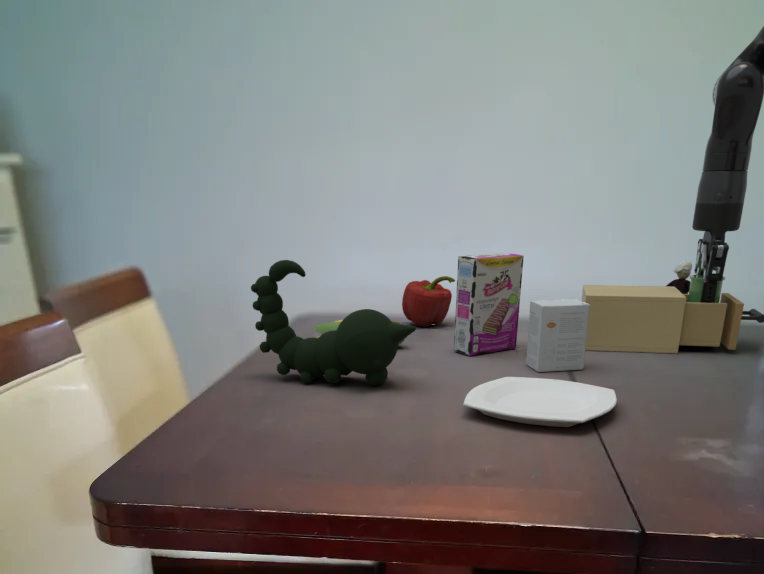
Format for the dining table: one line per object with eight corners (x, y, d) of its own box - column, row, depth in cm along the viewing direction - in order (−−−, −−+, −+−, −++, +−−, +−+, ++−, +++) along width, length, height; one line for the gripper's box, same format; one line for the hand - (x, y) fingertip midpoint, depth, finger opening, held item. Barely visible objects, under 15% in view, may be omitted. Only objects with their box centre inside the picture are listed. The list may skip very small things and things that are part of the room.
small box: (570, 362, 125) (576, 298, 121) (584, 370, 120) (591, 303, 116) (524, 364, 124) (529, 299, 119) (537, 372, 119) (542, 305, 114)
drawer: (747, 336, 139) (755, 293, 136) (764, 350, 128) (774, 304, 125) (635, 333, 143) (640, 291, 140) (642, 346, 132) (648, 301, 128)
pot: (716, 305, 135) (721, 274, 133) (722, 311, 130) (728, 278, 127) (682, 304, 136) (687, 274, 134) (687, 310, 131) (692, 278, 129)
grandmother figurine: (697, 325, 154) (707, 261, 149) (689, 327, 152) (699, 262, 146) (661, 320, 159) (670, 258, 154) (653, 323, 157) (662, 260, 151)
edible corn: (399, 351, 134) (399, 326, 132) (307, 341, 142) (306, 317, 141) (412, 346, 138) (412, 321, 136) (322, 336, 147) (321, 313, 145)
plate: (592, 442, 88) (594, 426, 87) (444, 419, 97) (444, 404, 96) (629, 401, 103) (630, 388, 102) (498, 385, 112) (499, 372, 111)
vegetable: (456, 321, 160) (458, 273, 156) (449, 330, 151) (451, 279, 147) (407, 319, 163) (407, 272, 159) (397, 328, 154) (397, 278, 149)
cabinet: (666, 338, 143) (674, 286, 139) (677, 353, 130) (686, 297, 126) (578, 335, 146) (583, 284, 142) (580, 350, 134) (586, 295, 130)
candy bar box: (470, 357, 129) (474, 258, 122) (452, 352, 133) (455, 255, 126) (518, 349, 135) (525, 254, 128) (500, 344, 138) (505, 251, 132)
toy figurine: (256, 394, 115) (411, 392, 106) (235, 265, 107) (400, 253, 99) (283, 379, 123) (428, 376, 114) (265, 259, 115) (419, 247, 107)
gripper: (754, 201, 118) (734, 310, 125) (734, 199, 131) (717, 297, 138) (704, 202, 120) (687, 309, 127) (689, 199, 133) (675, 296, 140)
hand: (703, 302), depth 132 cm, fingers closed on pot, 5 cm apart
